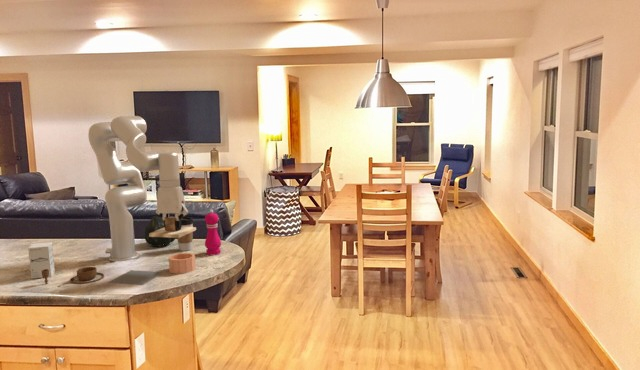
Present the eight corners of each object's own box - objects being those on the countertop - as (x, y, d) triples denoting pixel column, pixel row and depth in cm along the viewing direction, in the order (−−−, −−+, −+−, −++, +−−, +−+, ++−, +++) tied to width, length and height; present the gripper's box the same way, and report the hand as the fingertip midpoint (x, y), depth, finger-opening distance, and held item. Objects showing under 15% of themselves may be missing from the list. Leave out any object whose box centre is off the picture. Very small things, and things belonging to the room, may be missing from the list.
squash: (186, 229, 252) (164, 208, 250) (174, 238, 237) (152, 215, 236) (166, 248, 254) (145, 226, 253) (154, 257, 240) (132, 235, 239)
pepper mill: (217, 255, 224) (215, 211, 221) (202, 255, 226) (200, 211, 223) (224, 251, 231) (222, 208, 228) (209, 250, 233) (207, 207, 230)
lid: (149, 236, 196) (147, 220, 195) (167, 228, 208) (166, 214, 207) (179, 237, 192) (178, 221, 191) (196, 230, 204) (195, 214, 204)
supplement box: (30, 279, 198) (27, 247, 196) (35, 273, 205) (32, 243, 203) (51, 277, 200) (48, 246, 198) (55, 271, 207) (52, 241, 205)
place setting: (83, 290, 185) (82, 275, 184) (39, 286, 191) (37, 271, 190) (115, 275, 202) (114, 261, 201) (73, 272, 207) (72, 258, 206)
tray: (107, 284, 190) (106, 282, 190) (131, 271, 204) (130, 270, 204) (142, 286, 186) (142, 284, 186) (164, 273, 201) (164, 272, 201)
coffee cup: (178, 247, 240) (176, 216, 238) (196, 246, 241) (194, 215, 239) (174, 252, 232) (172, 220, 230) (193, 251, 232) (191, 219, 230)
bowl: (164, 274, 200) (163, 259, 199) (177, 266, 210) (176, 252, 209) (187, 275, 198) (186, 260, 197) (199, 267, 207) (199, 253, 207)
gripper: (145, 185, 196) (149, 231, 199) (184, 185, 191) (187, 232, 194) (156, 182, 203) (159, 227, 206) (194, 182, 199) (197, 228, 201)
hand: (173, 229), depth 200 cm, fingers closed on lid, 4 cm apart
